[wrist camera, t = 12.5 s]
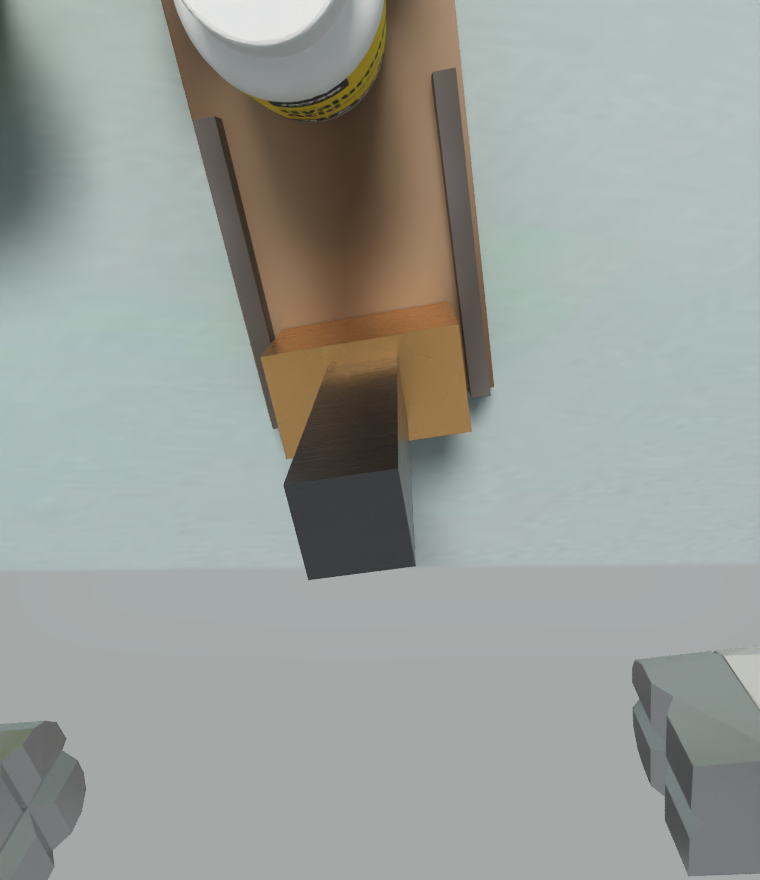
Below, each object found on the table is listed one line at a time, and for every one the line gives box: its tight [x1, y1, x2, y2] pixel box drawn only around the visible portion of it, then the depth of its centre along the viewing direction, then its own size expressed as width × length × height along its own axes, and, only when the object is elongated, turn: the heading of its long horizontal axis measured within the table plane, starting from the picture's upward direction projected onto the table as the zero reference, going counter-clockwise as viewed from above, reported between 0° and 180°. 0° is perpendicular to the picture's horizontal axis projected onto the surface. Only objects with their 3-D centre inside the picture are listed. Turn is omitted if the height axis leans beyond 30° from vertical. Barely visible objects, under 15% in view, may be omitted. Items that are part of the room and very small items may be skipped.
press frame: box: [161, 0, 494, 429], centre depth 21 cm, size 10×20×8 cm, turn 10°
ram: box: [260, 301, 472, 580], centre depth 19 cm, size 7×4×13 cm, turn 100°
